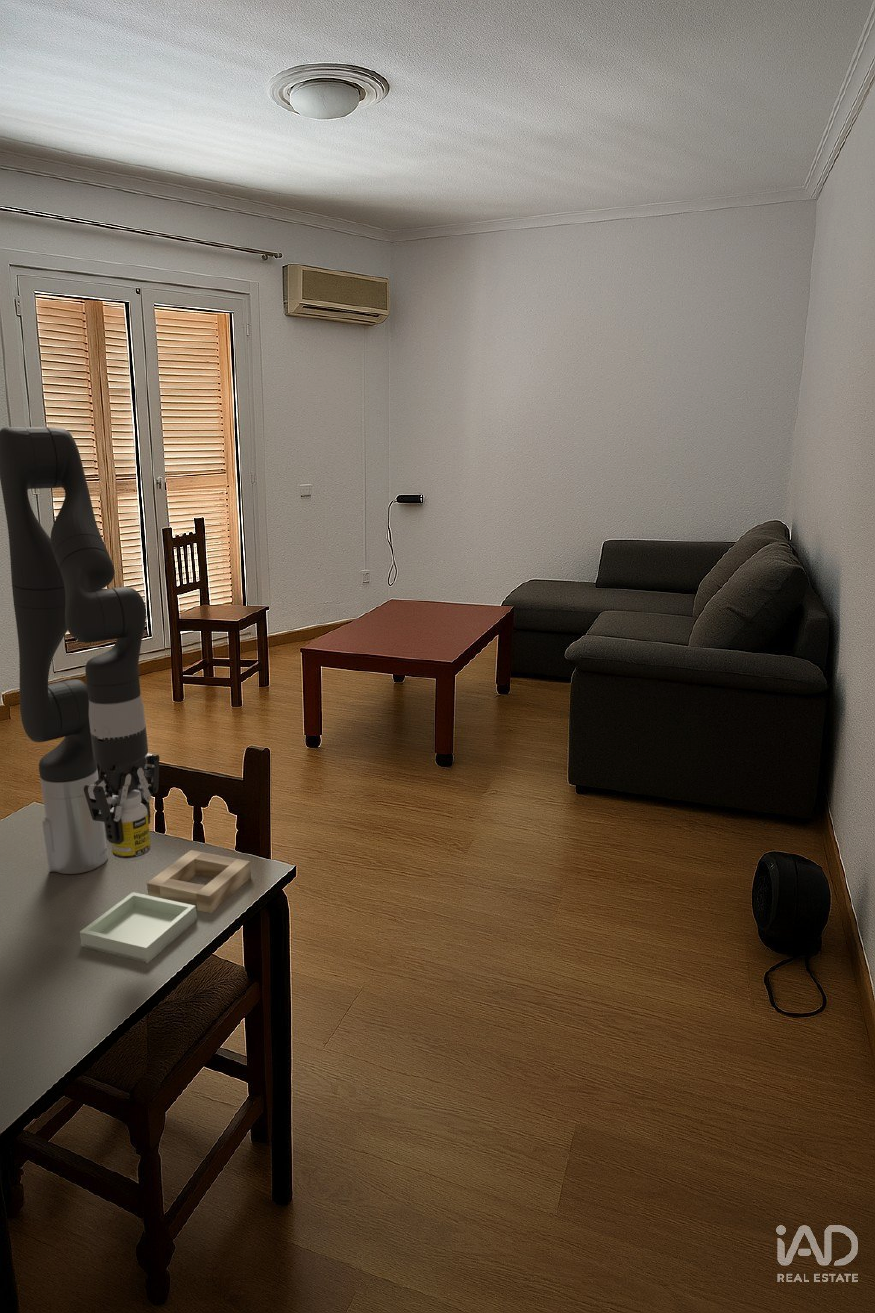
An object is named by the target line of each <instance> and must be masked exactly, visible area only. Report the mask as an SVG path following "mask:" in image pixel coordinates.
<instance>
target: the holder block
mask: <svg viewBox="0 0 875 1313" xmlns="http://www.w3.org/2000/svg"><path fill="white" fill-rule="evenodd" d="M251 870H252V869H251V860H245V859H240V858H237V857H236V858H234V857H229V856H225V855H220V854H219V855H218V854H213V853H208V852H203V851H198V850H193V849H190V850H189V851H188V852H186V853H185V854H183V855H182V856H181V857H179V858H178V859H176V861H174V862H173V863H171V864H170V865H168V867H166V868H165V869H164V870H162V871H161V872H160V873H158V874H157V875H156V876H154V877H153V878H151V879H150V880H149V881H148V882H146V886H147V895H149V896H153V897H158V898H162V899H167V900H172V901H176V902H181V903H186V904H190V905H195V906H196V911H200V912H204V913H209V914H212V912H214V911H215V909H217V908H219V906H220V905H221V904H222V903H224V902H225V901H226V900H227V899H228V898H229V897H231V896H232V895H233V894H234V893H235V892H236V891H237V890H238V889H239V888H241V885H242V884H243V885H244V884H245V883H246V882H247V881H248V880H250V879H251V878H252V871H251ZM195 875H197V876H201V877H207V878H211V880H210V881H209V882H207V884H206V885H203V884H199V883H198V884H197V883H193V882H189V881H190V880H191V879H192V878H193V877H194V876H195ZM244 882H245V883H244ZM243 885H242V886H243Z"/></svg>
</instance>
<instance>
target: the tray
mask: <svg viewBox="0 0 875 1313" xmlns="http://www.w3.org/2000/svg"><path fill="white" fill-rule="evenodd" d="M197 916H198V915H197V910H196V906H195V905H190V904H186V903H181V902H176V901H172V900H167V899H162V898H158V897H153V896H149V895H148V894H144V893H143V894H142V893H139V892H135V891H133V892H131V893H130V894H128V895H127V896H125V897H124V898H123V899H122V900H120V901H119V902H118V903H116V904H114V905H113V906H112V907H111V908H110V909H108V910H106V912H104V913H103V914H102V915H100V916H99V917H98V918H96V919H94V921H92V922H91V923H90V924H88V925H87V926H86V927H84V928H82V929H81V930H80V931H79V937H80V938H79V939H80V943H81V944H80V946H81V947H83V948H85V949H90V950H94V951H98V952H101V953H104V954H105V953H106V954H109V955H114V956H118V957H122V958H126V959H131V960H133V961H139V962H143V963H146V964H148V963H150V962H151V961H152V960H153V959H154V958H156V956H157V955H159V954H160V953H161V952H162V951H163V950H165V948H167V947H168V946H169V945H171V943H172V942H174V941H175V940H176V939H177V938H178V937H179V936H180V935H181V934H183V933H184V932H185V931H186V930H187V929H188V928H190V926H192V925H193V924H194V923H195V922H196V921H197V920H198V917H197Z"/></svg>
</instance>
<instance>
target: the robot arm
mask: <svg viewBox="0 0 875 1313" xmlns="http://www.w3.org/2000/svg"><path fill="white" fill-rule="evenodd" d="M86 478H87V476H86V473H85V469H84V465H83V462H82V458H81V454H80V451H79V448H78V445H77V443H76V441H75V439H74V436H72V433H71V432H70V431H68V430H67V429H65V428H62V427H57V426H56V427H55V426H6V427H2V428H1V429H0V487H1V493H2V498H3V499H2V500H3V504H4V511H5V518H6V525H7V531H8V532H7V533H8V534H7V535H8V545H9V560H10V577H11V588H12V598H13V609H14V616H15V623H16V632H17V641H18V654H19V659H18V660H19V710H20V718H21V724H22V726H23V730H24V732H25V734H26V736H27V737H28V738H29V740H31V741H32V742H35V743H43V742H49V741H53V740H57V739H61V738H63V739H62V741H61V742H60V743H59V744H58V745H57V746H55V747H54V748H53V749H52V750H50V751H49V752H47V753H46V754H44V755H43V756H42V758H40V760H39V762H38V772H39V777H40V778H39V779H40V786H41V793H42V800H43V808H44V816H45V817H44V819H43V821H42V831H43V837H44V843H45V846H44V847H45V853H46V859H47V865H48V866H47V867H48V872H49V873H51V872H54V873H59V874H63V875H73V874H75V875H76V874H82V873H86V872H90V871H92V870H95V869H97V868H99V867H101V866H102V865H103V864H105V863H106V861H107V860H108V857H109V856H108V845H107V841H108V842H109V843H111V844H112V843H114V844H120V843H122V842H123V841H124V838H123V829H122V820H121V819H120V816H121V810H122V806H123V805H125V803H126V798H127V794H128V793H129V792H130V791H132V790H135V789H136V790H139V791H140V792H141V803H142V804H144V805H145V806H146V808H147V812H148V824H149V825H150V824H151V806H150V801H151V800H152V796H153V794H157V793H158V792H159V785H160V784H159V783H160V782H159V780H160V778H159V777H160V755H159V754H154V753H149V744H148V743H149V742H148V733H147V724H146V716H145V715H146V713H145V706H144V702H143V698H142V693H141V682H140V674H139V673H140V672H139V664H140V656H141V655H140V654H141V646H142V642H143V636H144V634H145V633H144V632H145V628H146V621H147V607H146V603H145V600H144V598H143V597H142V595H141V594H140V592H138V591H137V590H136V589H135V588H133V587H131V586H130V587H129V586H119V587H113V588H106V587H108V586H109V585H110V584H111V583H112V582H113V580H114V579H115V575H116V574H115V573H116V571H115V567H114V566H115V565H114V563H113V561H112V559H111V556H110V554H109V551H108V549H107V547H106V544H105V541H104V539H103V537H102V535H101V532H100V530H99V526H98V524H97V520H96V517H95V512H94V508H93V504H92V503H93V502H92V500H91V495H90V490H89V484H88V481H87V479H86ZM59 488H62V489H63V491H64V498H63V503H62V505H61V507H60V509H59V512H58V513H57V516H56V518H55V520H54V522H53V524H52V528H51V532H50V536H49V534H48V533H47V532H46V531H45V529H44V528H43V526H42V524H41V523H40V522H39V520H38V519H37V517H36V515H35V512H34V511H33V507H32V505H31V502H30V498H29V491H28V490H33V489H34V490H36V489H39V490H40V489H41V490H42V489H59ZM67 632H68V633H69V635H71V637H73V638H74V639H75V640H76V641H77V642H80V643H82V644H83V643H84V644H86V643H89V644H90V643H91V644H92V643H97V642H103V641H110V640H116V641H115V643H114V645H113V646H112V647H111V649H109V650H108V651H106V652H102V653H101V654H99V655H96V656H93V657H92V658H90V659H89V660H87V662H86V664H85V668H84V669H85V681H86V683H85V682H84V681H82V679H77V678H76V679H74V678H73V679H67V680H63V681H59V682H54V683H49V675H50V669H51V665H52V661H53V659H54V656H55V654H56V652H57V650H58V648H59V646H60V644H61V642H63V641H62V640H63V639H64V638H65V636H66V634H67ZM98 767H99V771H98ZM149 778H150V783H149ZM111 795H112V796H113V795H117V796H118V798H117V799H116V798H112V796H111ZM113 805H114V806H113ZM111 806H113V807H114V810H113V812H110V810H111V809H112V807H111Z"/></svg>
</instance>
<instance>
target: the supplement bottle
mask: <svg viewBox="0 0 875 1313" xmlns="http://www.w3.org/2000/svg"><path fill="white" fill-rule="evenodd" d="M111 797H112V798H116V799H117V798H118V796H117V795H112V796H111ZM112 806H113V807H111V808H110V812H113V810H114V805H113V804H112ZM120 819H121V820H122V829H123V838H124V841H123V842H122V843H120V844H114V843H111V849H112V850H111V851H112V852H111V853H112V856H113V858H114V859H115V860H116V861H118V862H124V863H128V862H129V863H130V862H136V861H140V860H142V859H144V858H146V857H147V856H148V855H150V853H151V836H150V824H148V812H147V808H146V806H145V805H144V804H142V803H141V792H140V791H139V790H136V789H135V790H132V791H130V792H129V793H128V794H127V798H126V803H125V805H123V806H122V810H121V816H120Z"/></svg>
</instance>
